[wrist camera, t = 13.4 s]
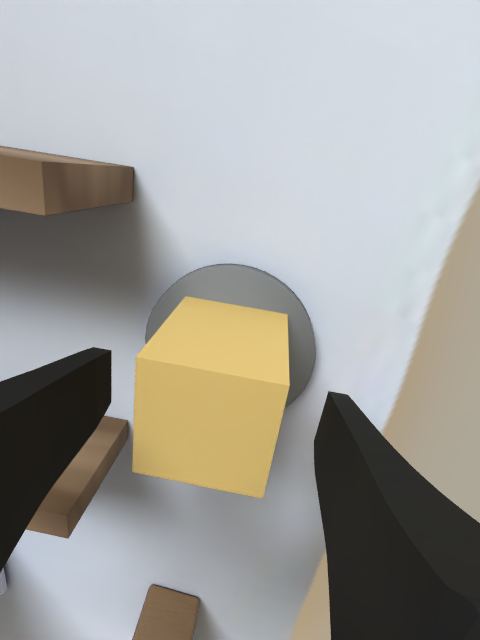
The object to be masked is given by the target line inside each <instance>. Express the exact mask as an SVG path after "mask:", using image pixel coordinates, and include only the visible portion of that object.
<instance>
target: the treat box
mask: <svg viewBox="0 0 480 640" xmlns="http://www.w3.org/2000/svg"><path fill="white" fill-rule="evenodd" d="M132 201H133V167H130V166H123V165H117V164H111V163H105V162H98V161H92V160H86V159H80V158H73V157H67V156H61V155H54V154H48V153H42V152H36V151H29V150H23V149H17V148H11V147H4V146H0V208H3V209H8V210H14V211H20V212H26V213H32V214H38V215H44V216H47V215H53V214H59V213H65V212H71V211H77V210H83V209H89V208H95V207H101V206H107V205H114V204H120V203H126V202H132ZM127 427H128V420H123V419H117V418H112V417H107V416H103V418H102V420H101V421H100V423H99V425H98V427H97V428H96V429H95V431H94V432H93V434H92V435H91V436H90V438H89V439H88V440H87V442H86V443H85V444H84V446H83V447H82V448H81V450H80V451H79V452H78V454H77V455H76V456H75V458H74V459H73V460H72V462H71V463H70V464H69V466H68V467H67V468H66V469H65V471H64V472H63V473H62V475H61V476H60V477H59V479H58V480H57V481H56V483H55V484H54V485H53V487H52V488H51V490H50V491H49V493H48V494H47V495H46V497H45V498H44V500H43V502H42V503H41V505H40V506H39V508H38V510H37V511H36V513H35V515H34V516H33V518H32V519H31V521H30V523H29V524H28V526H27V528H26V529H27V530H31V531H36V532H41V533H45V534H50V535H54V536H59V537H64V538H69V537H70V535H71V533H72V531H73V530H74V528H75V526H76V525H77V523H78V521H79V520H80V518H81V516H82V515H83V513H84V511H85V510H86V508H87V506H88V505H89V503H90V501H91V499H92V498H93V496H94V494H95V493H96V491H97V489H98V488H99V486H100V484H101V483H102V481H103V479H104V478H105V476H106V474H107V473H108V471H109V469H110V467H111V466H112V464H113V462H114V461H115V459H116V457H117V456H118V454H119V452H120V451H121V449H122V447H123V446H124V444H125V442H126V441H127Z"/></svg>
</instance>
